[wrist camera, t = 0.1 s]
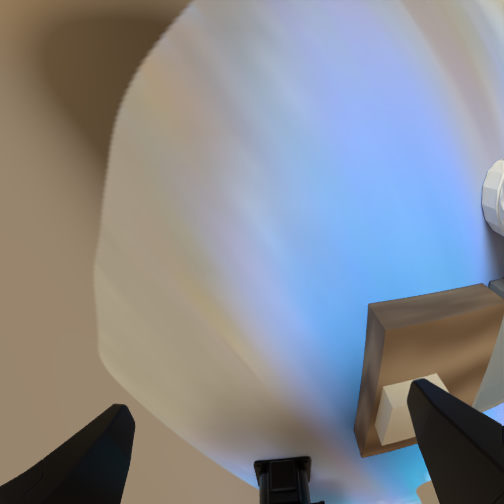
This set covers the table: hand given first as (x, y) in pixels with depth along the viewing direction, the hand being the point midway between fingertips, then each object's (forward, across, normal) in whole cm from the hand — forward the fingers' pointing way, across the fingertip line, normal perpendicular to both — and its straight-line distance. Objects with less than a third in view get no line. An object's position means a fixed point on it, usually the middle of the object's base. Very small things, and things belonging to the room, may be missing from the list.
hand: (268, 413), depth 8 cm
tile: (+10, -11, +13) cm, 20 cm away
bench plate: (+15, -14, +13) cm, 24 cm away
